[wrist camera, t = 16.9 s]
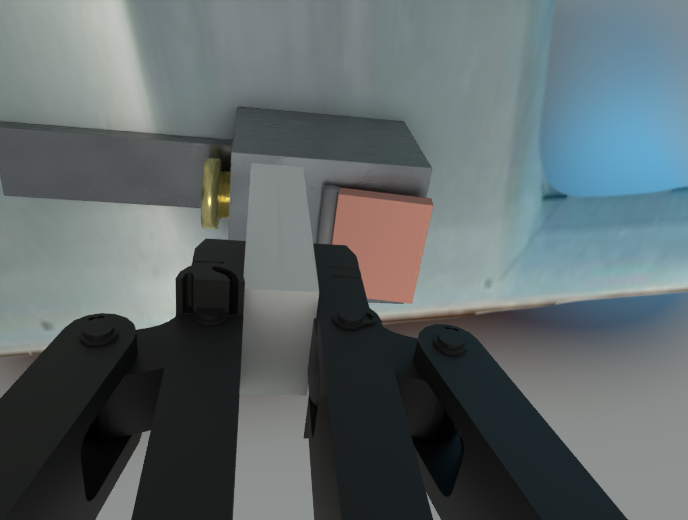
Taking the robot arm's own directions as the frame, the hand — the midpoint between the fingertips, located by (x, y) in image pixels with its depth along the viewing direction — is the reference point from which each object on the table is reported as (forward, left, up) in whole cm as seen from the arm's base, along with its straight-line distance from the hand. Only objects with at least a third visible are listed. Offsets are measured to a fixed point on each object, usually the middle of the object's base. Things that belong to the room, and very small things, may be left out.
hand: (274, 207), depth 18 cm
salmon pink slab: (+4, -10, -17) cm, 20 cm away
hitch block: (-4, -10, -26) cm, 29 cm away
